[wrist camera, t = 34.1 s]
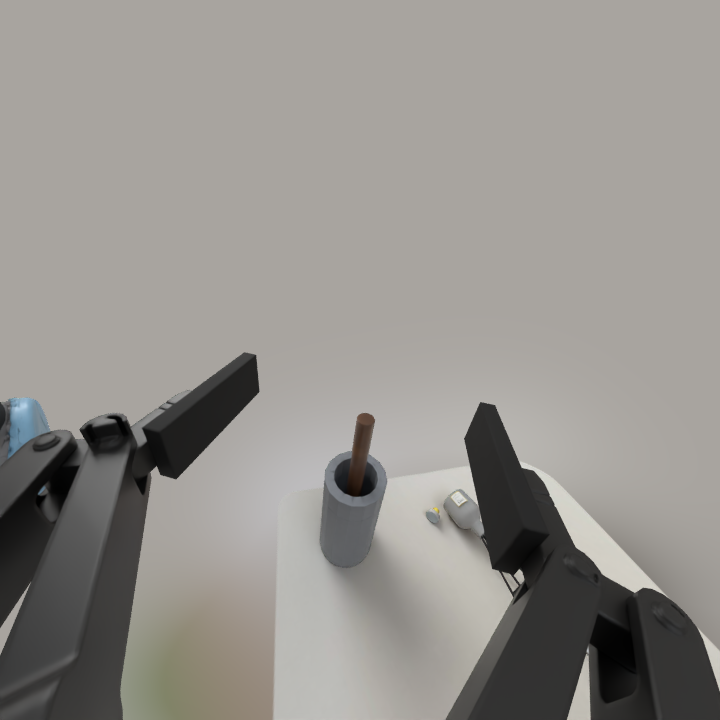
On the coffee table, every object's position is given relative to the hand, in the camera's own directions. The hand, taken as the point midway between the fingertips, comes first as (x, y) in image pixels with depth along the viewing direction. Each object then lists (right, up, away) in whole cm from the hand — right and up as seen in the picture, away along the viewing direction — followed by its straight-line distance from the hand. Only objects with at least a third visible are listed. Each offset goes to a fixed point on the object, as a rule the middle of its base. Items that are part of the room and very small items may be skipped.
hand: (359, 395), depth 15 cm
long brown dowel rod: (-2, -25, +25) cm, 36 cm away
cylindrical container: (-2, -26, +25) cm, 36 cm away
